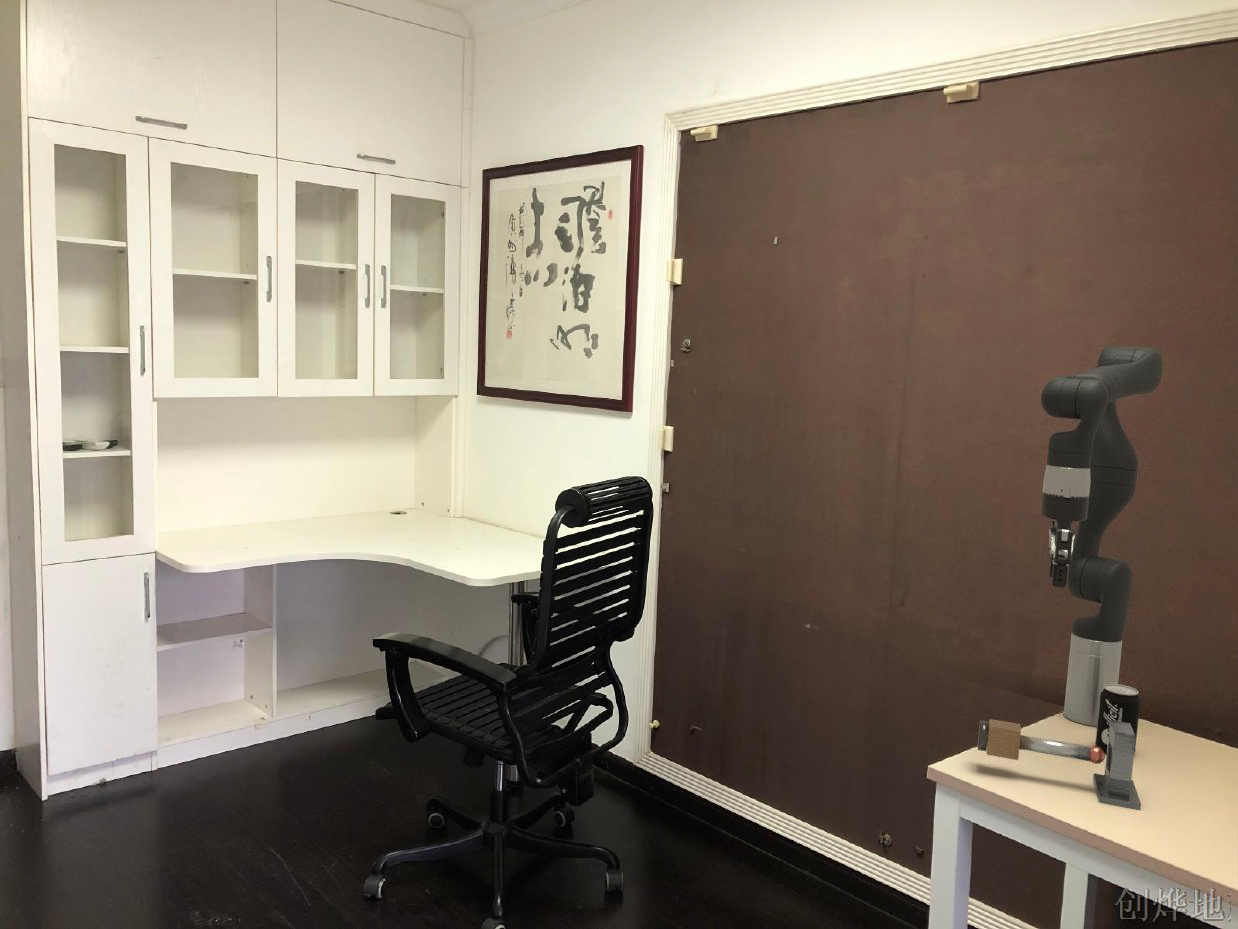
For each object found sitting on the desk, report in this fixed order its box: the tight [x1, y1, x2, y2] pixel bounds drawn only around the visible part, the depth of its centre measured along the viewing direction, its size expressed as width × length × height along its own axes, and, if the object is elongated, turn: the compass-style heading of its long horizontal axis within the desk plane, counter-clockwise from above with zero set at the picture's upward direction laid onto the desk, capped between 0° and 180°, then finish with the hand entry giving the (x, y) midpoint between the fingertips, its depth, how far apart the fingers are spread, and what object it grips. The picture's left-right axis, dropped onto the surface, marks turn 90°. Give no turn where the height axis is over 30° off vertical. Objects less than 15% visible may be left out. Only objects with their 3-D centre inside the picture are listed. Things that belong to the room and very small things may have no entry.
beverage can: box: [1095, 683, 1141, 755], centre depth 178 cm, size 7×7×12 cm
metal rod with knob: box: [977, 718, 1106, 765], centre depth 164 cm, size 20×5×5 cm, turn 69°
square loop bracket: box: [1092, 720, 1142, 811], centre depth 160 cm, size 10×6×11 cm, turn 159°
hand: (1057, 582), depth 172 cm, fingers open, 8 cm apart
